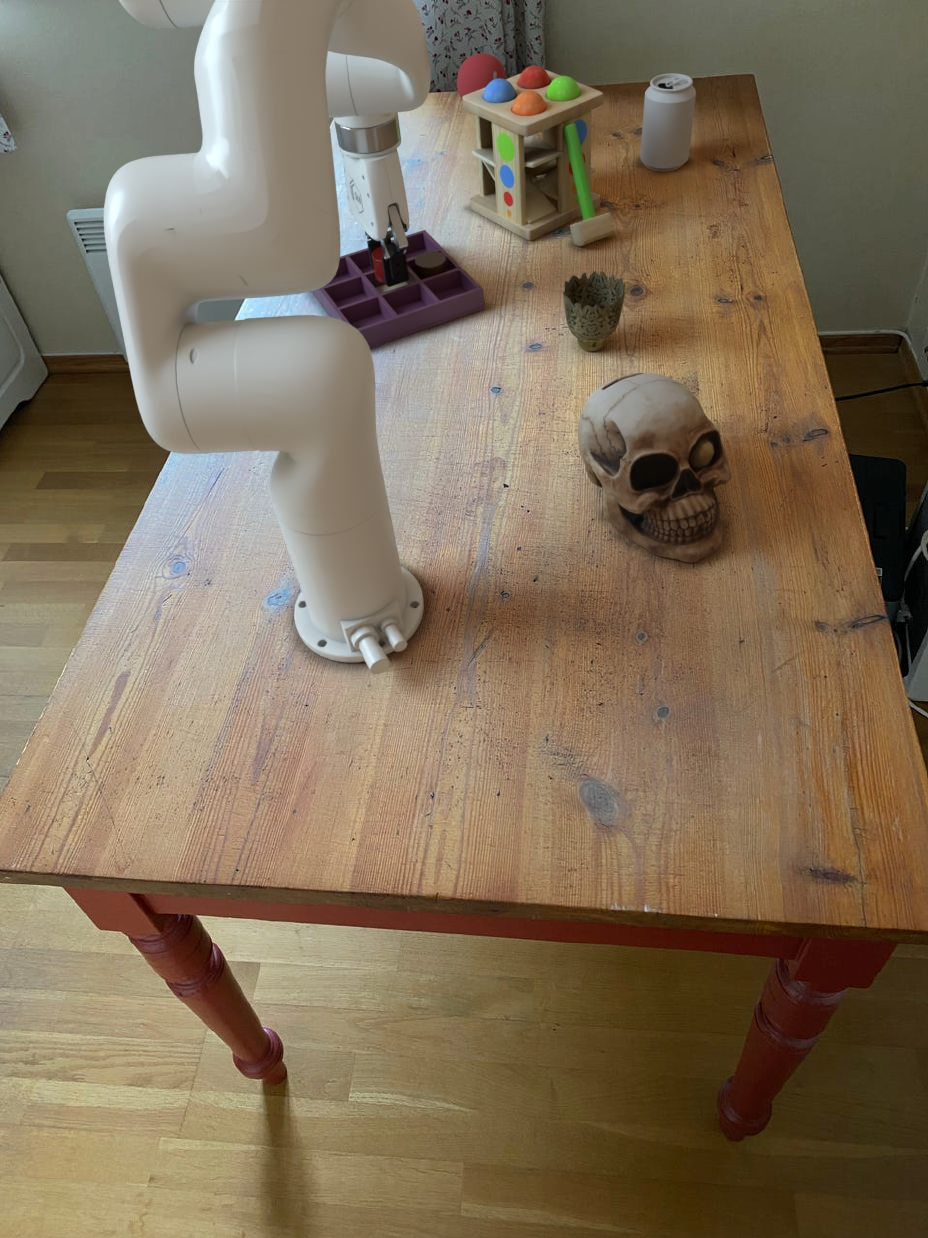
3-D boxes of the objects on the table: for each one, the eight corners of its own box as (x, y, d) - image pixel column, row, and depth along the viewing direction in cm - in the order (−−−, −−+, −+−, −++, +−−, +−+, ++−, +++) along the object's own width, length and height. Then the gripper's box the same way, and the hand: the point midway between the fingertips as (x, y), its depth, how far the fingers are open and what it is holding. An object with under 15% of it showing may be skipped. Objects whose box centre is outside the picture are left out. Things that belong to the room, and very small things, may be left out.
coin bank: (706, 571, 86) (712, 459, 77) (547, 531, 94) (534, 425, 85) (756, 476, 95) (768, 365, 86) (606, 447, 103) (601, 342, 93)
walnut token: (452, 283, 122) (450, 261, 120) (425, 292, 121) (422, 270, 119) (440, 269, 125) (437, 248, 122) (412, 278, 124) (410, 257, 121)
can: (630, 160, 142) (636, 77, 133) (670, 148, 144) (678, 65, 135) (656, 178, 138) (664, 94, 128) (697, 165, 139) (707, 81, 130)
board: (484, 309, 119) (483, 288, 116) (356, 353, 115) (352, 333, 112) (427, 249, 130) (424, 229, 127) (308, 287, 126) (303, 267, 123)
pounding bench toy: (642, 226, 129) (652, 92, 115) (568, 263, 124) (570, 128, 110) (538, 176, 141) (537, 49, 127) (468, 208, 136) (458, 80, 123)
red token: (411, 277, 119) (408, 254, 116) (382, 286, 118) (378, 264, 115) (398, 263, 121) (395, 241, 119) (370, 272, 120) (366, 250, 118)
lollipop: (457, 165, 146) (448, 63, 134) (470, 144, 150) (463, 44, 139) (502, 168, 144) (497, 65, 132) (514, 147, 148) (511, 45, 137)
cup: (618, 364, 109) (622, 305, 103) (558, 361, 110) (559, 302, 104) (624, 329, 113) (628, 271, 107) (566, 326, 115) (567, 268, 108)
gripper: (314, 115, 109) (342, 255, 124) (365, 166, 99) (389, 312, 114) (370, 99, 111) (391, 239, 125) (426, 148, 101) (441, 294, 115)
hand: (390, 273), depth 119 cm, fingers closed on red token, 4 cm apart
